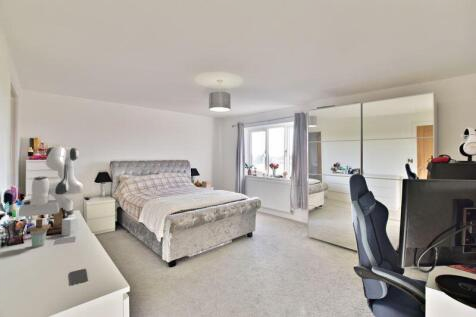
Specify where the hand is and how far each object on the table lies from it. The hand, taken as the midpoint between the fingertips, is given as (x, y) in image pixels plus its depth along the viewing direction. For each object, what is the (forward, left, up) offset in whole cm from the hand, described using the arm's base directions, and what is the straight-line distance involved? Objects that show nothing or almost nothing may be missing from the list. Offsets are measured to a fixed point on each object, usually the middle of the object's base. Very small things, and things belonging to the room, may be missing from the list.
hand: (39, 221), depth 149 cm
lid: (0, 0, -5) cm, 5 cm away
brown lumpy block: (-30, +7, -17) cm, 35 cm away
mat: (-4, +14, -17) cm, 22 cm away
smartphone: (+63, +23, -17) cm, 69 cm away
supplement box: (-20, +16, -17) cm, 31 cm away
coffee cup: (0, 0, -17) cm, 17 cm away
